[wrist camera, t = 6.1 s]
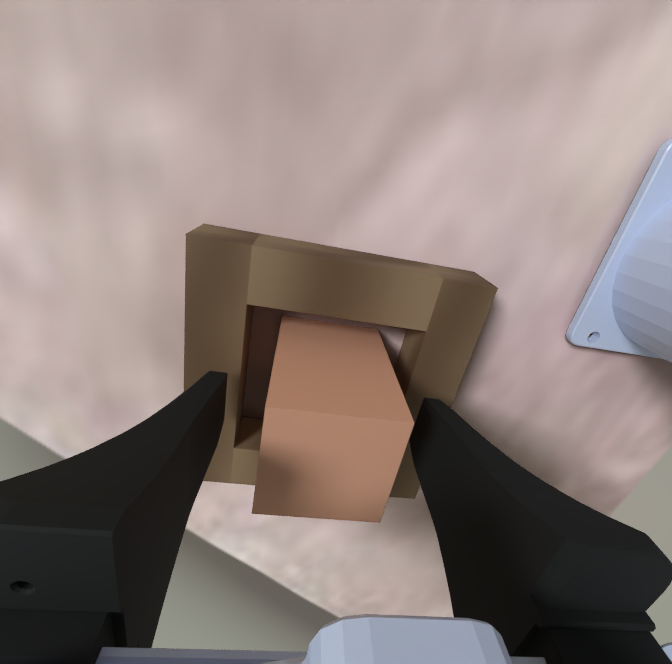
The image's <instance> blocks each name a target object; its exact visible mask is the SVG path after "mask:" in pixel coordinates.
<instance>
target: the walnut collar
mask: <svg viewBox="0 0 672 664" xmlns="http://www.w3.org/2000/svg"><path fill="white" fill-rule="evenodd" d="M497 289H498V288H497V287H496V286H494V285H493V284H491V283H490V282H488V281H487V280H485V279H484V278H482V277H481V276H479V275H478V274H476V273H475V272H471V271H466V270H460V269H455V268H449V267H443V266H438V265H432V264H427V263H421V262H415V261H410V260H404V259H398V258H393V257H387V256H382V255H376V254H370V253H365V252H359V251H354V250H348V249H342V248H337V247H331V246H325V245H320V244H314V243H309V242H303V241H297V240H292V239H286V238H281V237H275V236H269V235H264V234H258V233H253V232H247V231H241V230H236V229H230V228H224V227H219V226H213V225H208V224H203V225H201V226H199V227H197V228H196V229H194V230H192V231H190V232H189V233H187V234H186V272H185V346H184V392H185V391H186V390H187V389H188V388H189V387H191V386H192V385H193V384H194V383H195V382H197V381H198V380H199V379H200V378H201V377H202V376H203V375H205V374H206V373H207V372H209V371H217V372H225V373H228V376H227V390H226V404H225V417H224V423H223V427H222V430H221V434H220V438H219V441H218V445H217V447H216V450H215V452H214V455H213V457H212V460H211V462H210V465H209V467H208V469H207V472H206V474H205V477H204V479H203V481H212V482H223V483H235V484H247V485H255V484H256V476H257V468H258V460H259V452H260V444H261V436H262V428H263V420H264V419H257V418H248V417H242V414H243V404H244V394H245V384H246V374H247V363H248V353H249V343H250V333H251V323H252V313H253V305H255V306H262V307H268V308H275V309H282V310H288V311H295V312H301V313H308V314H315V315H321V316H328V317H334V318H341V319H348V320H354V321H361V322H367V323H374V324H381V325H387V326H394V327H401V328H407V330H406V334H405V337H404V340H403V344H402V347H401V350H400V354H399V357H398V360H397V364H396V367H395V370H394V372H395V375H396V377H397V380H398V382H399V385H400V388H401V390H402V393H403V395H404V398H405V400H406V403H407V405H408V408H409V410H410V413H411V416H412V418H413V421H414V424H415V421H416V419H417V416H418V413H419V410H420V407H421V404H422V402H423V399H424V397H425V398H433V399H440V400H441V401H442V402H444V403H445V404H446V405H447V406H448V407H450V408H451V405H452V403H453V400H454V398H455V395H456V393H457V390H458V388H459V385H460V383H461V380H462V378H463V375H464V373H465V370H466V367H467V365H468V362H469V360H470V357H471V355H472V352H473V350H474V347H475V345H476V342H477V340H478V337H479V335H480V332H481V330H482V327H483V324H484V322H485V319H486V317H487V314H488V312H489V309H490V307H491V304H492V302H493V299H494V297H495V294H496V292H497ZM413 427H414V426H413ZM412 430H413V429H412ZM411 433H412V432H411ZM410 436H411V435H410ZM409 438H410V437H409ZM419 486H420V482H419V479H418V476H417V473H416V470H415V467H414V463H413V458H412V453H411V448H410V442H409V440H408V443H407V446H406V449H405V452H404V455H403V458H402V460H401V463H400V466H399V469H398V472H397V475H396V478H395V481H394V483H393V486H392V489H391V492H390V495H389V497H401V498H412V499H415V496H416V494H417V491H418V489H419Z"/></svg>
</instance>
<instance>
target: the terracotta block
mask: <svg viewBox="0 0 672 664" xmlns="http://www.w3.org/2000/svg"><path fill="white" fill-rule="evenodd" d="M413 426H414V421H413V418H412V416H411V413H410V410H409V408H408V405H407V403H406V400H405V398H404V395H403V393H402V390H401V388H400V385H399V382H398V380H397V377H396V375H395V372H394V370H393V367H392V365H391V362H390V360H389V357H388V354H387V352H386V349H385V347H384V344H383V342H382V339H381V337H380V334H379V332H378V329H372V328H366V327H359V326H352V325H345V324H338V323H331V322H324V321H317V320H311V319H304V318H297V317H290V316H283V315H282V320H281V326H280V331H279V336H278V341H277V347H276V352H275V357H274V363H273V368H272V373H271V379H270V384H269V389H268V394H267V400H266V405H265V412H264V420H263V428H262V436H261V444H260V452H259V460H258V468H257V476H256V484H255V492H254V500H253V508H252V514H265V515H279V516H293V517H308V518H322V519H336V520H350V521H365V522H379V523H380V521H381V518H382V515H383V512H384V509H385V507H386V504H387V501H388V498H389V495H390V492H391V489H392V486H393V483H394V481H395V478H396V475H397V472H398V469H399V466H400V463H401V460H402V458H403V455H404V452H405V449H406V446H407V443H408V440H409V437H410V435H411V432H412V429H413Z"/></svg>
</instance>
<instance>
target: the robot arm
mask: <svg viewBox="0 0 672 664" xmlns="http://www.w3.org/2000/svg"><path fill="white" fill-rule="evenodd" d="M591 333H593V334H592V336H591V337H589V338H588V336H589V335H590V334H591ZM566 338H567V339H568V341H569V342H571V343H572V344H574V345H577V346H583V347H589V348H596V349H602V350H609V351H615V352H622V353H628V354H635V355H641V356H648V357H654V358H660V359H665V360H667V361H669V362H671V363H672V138H670V139H668V140H667V141H666V142H665V143H663V144H662V146H661V147H660V149H659V150H658V152H657V154H656V156H655V158H654V160H653V162H652V164H651V166H650V168H649V170H648V172H647V174H646V176H645V178H644V180H643V182H642V184H641V186H640V188H639V190H638V192H637V194H636V196H635V197H634V199H633V201H632V203H631V205H630V207H629V209H628V211H627V213H626V215H625V217H624V219H623V221H622V223H621V225H620V227H619V229H618V231H617V233H616V235H615V237H614V239H613V241H612V243H611V245H610V247H609V249H608V251H607V253H606V255H605V257H604V259H603V261H602V263H601V265H600V267H599V269H598V271H597V273H596V275H595V277H594V278H593V280H592V282H591V284H590V286H589V288H588V290H587V292H586V294H585V296H584V298H583V300H582V302H581V304H580V306H579V308H578V310H577V312H576V314H575V316H574V318H573V320H572V322H571V324H570V326H569V328H568V330H567V333H566ZM227 376H228V373H225V372H217V371H209V372H207V373H206V374H205V375H203V376H202V377H201V378H200V379H199V380H198V381H197V382H195V383H194V384H193V385H192V386H191V387H189V388H188V389H187V390H186V391H185V392H183V393H182V394H181V395H180V396H178V397H177V398H176V399H174V400H173V401H172V402H171V403H169V404H168V405H166V406H165V407H164V408H162V409H161V410H159V411H158V412H156V413H155V414H154V415H152V416H151V417H149V418H148V419H146V420H145V421H143V422H141V423H140V424H138V425H136V426H135V427H133V428H131V429H129V430H128V431H126V432H124V433H122V434H120V435H118V436H116V437H114V438H112V439H110V440H108V441H106V442H104V443H102V444H100V445H98V446H96V447H94V448H91V449H89V450H87V451H85V452H82V453H80V454H77V455H75V456H73V457H70V458H68V459H65V460H62V461H60V462H57V463H55V464H52V465H49V466H47V467H44V468H41V469H38V470H35V471H32V472H29V473H26V474H23V475H20V476H16V477H13V478H10V479H7V480H4V481H1V482H0V664H672V643H667V644H664V645H662V646H660V645H659V644H658V642H657V641H656V640H655V638H654V637H653V635H652V634H651V633H650V631H654V629H655V624H654V622H653V621H652V620H651V619H650V617H649V616H648V614H647V613H646V612H645V611H646V610H647V609H648V608H649V607H650V606H651V605H652V604H653V603H654V602H655V600H657V599H658V597H659V596H660V595H661V594H662V593H663V592H664V591H665V590H666V588H667V587H668V586H669V585H670V583H671V581H672V563H671V562H670V560H669V559H668V558H667V557H666V556H665V555H664V554H663V552H662V551H661V550H660V549H659V548H658V547H657V546H656V544H655V543H654V542H653V541H652V540H651V539H650V538H649V536H647V535H646V534H645V533H643V532H641V531H639V530H637V529H634V528H632V527H630V526H628V525H625V524H623V523H621V522H619V521H617V520H614V519H612V518H610V517H608V516H606V515H604V514H602V513H600V512H598V511H596V510H594V509H592V508H590V507H588V506H586V505H584V504H582V503H580V502H578V501H577V500H575V499H573V498H571V497H569V496H567V495H566V494H564V493H562V492H561V491H559V490H557V489H556V488H554V487H552V486H551V485H549V484H547V483H546V482H544V481H542V480H541V479H539V478H538V477H536V476H534V475H533V474H531V473H530V472H529V471H527V470H526V469H524V468H523V467H521V466H520V465H518V464H517V463H516V462H514V461H513V460H512V459H510V458H509V457H507V456H506V455H505V454H504V453H502V452H501V451H500V450H499V449H497V448H496V447H495V446H494V445H492V444H491V443H490V442H489V441H487V440H486V439H485V438H484V437H483V436H481V435H480V434H479V433H478V432H477V431H476V430H475V429H473V428H472V427H471V426H470V425H469V424H468V423H467V422H465V421H464V420H463V419H462V418H461V417H460V416H459V415H458V414H457V413H455V412H454V411H453V410H452V409H451V408H450V407H448V406H447V405H446V404H445V403H444V402H442V401H441V400H440V399H433V398H425V397H424V399H423V402H422V404H421V407H420V410H419V413H418V416H417V419H416V421H415V424H414V427H413V430H412V433H411V436H410V438H409V442H410V448H411V453H412V458H413V463H414V467H415V470H416V473H417V476H418V479H419V482H420V485H421V488H422V491H423V493H424V496H425V499H426V502H427V505H428V508H429V511H430V514H431V517H432V520H433V523H434V526H435V530H436V533H437V537H438V541H439V545H440V550H441V554H442V558H443V563H444V568H445V572H446V577H447V582H448V587H449V592H450V597H451V603H452V609H453V614H454V617H428V616H402V615H376V614H363V615H354V616H345V617H342V618H339V619H337V620H335V621H333V622H330V623H328V624H326V625H324V626H323V627H322V629H321V630H320V631H319V632H318V633H317V635H316V636H315V637H314V638H313V640H312V641H311V642H310V645H309V648H308V652H294V651H293V652H292V651H251V650H210V649H208V650H207V649H205V650H204V649H166V648H151V647H152V643H153V640H154V636H155V632H156V629H157V625H158V621H159V617H160V614H161V610H162V606H163V603H164V599H165V596H166V592H167V588H168V585H169V581H170V578H171V575H172V571H173V568H174V564H175V561H176V557H177V554H178V551H179V547H180V544H181V540H182V537H183V534H184V531H185V527H186V524H187V521H188V517H189V514H190V512H191V509H192V506H193V503H194V501H195V498H196V496H197V494H198V491H199V489H200V486H201V484H202V482H203V479H204V477H205V474H206V472H207V469H208V467H209V465H210V462H211V460H212V457H213V455H214V452H215V450H216V447H217V445H218V441H219V438H220V434H221V430H222V427H223V423H224V417H225V404H226V390H227Z"/></svg>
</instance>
